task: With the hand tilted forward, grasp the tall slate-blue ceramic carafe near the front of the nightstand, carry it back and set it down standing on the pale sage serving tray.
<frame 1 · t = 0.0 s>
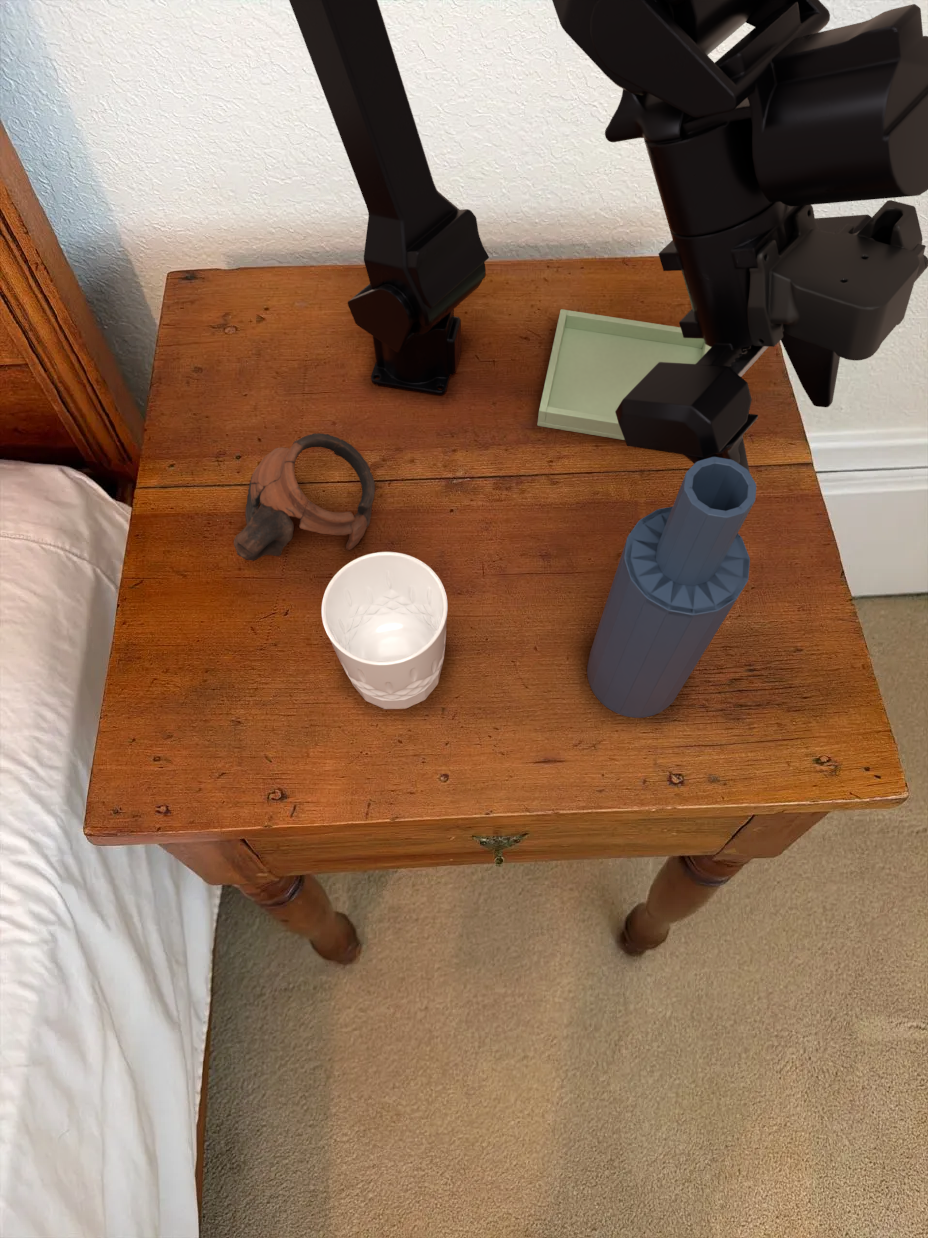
hand: (784, 451, 54), 15 cm above the nightstand, tool tilted 35°, fingers open, 9 cm apart
tray: (624, 386, 75), on the nightstand
white cup: (396, 667, 64), on the nightstand
carafe: (634, 673, 64), on the nightstand
brown grey sculpted ring: (302, 528, 69), on the nightstand
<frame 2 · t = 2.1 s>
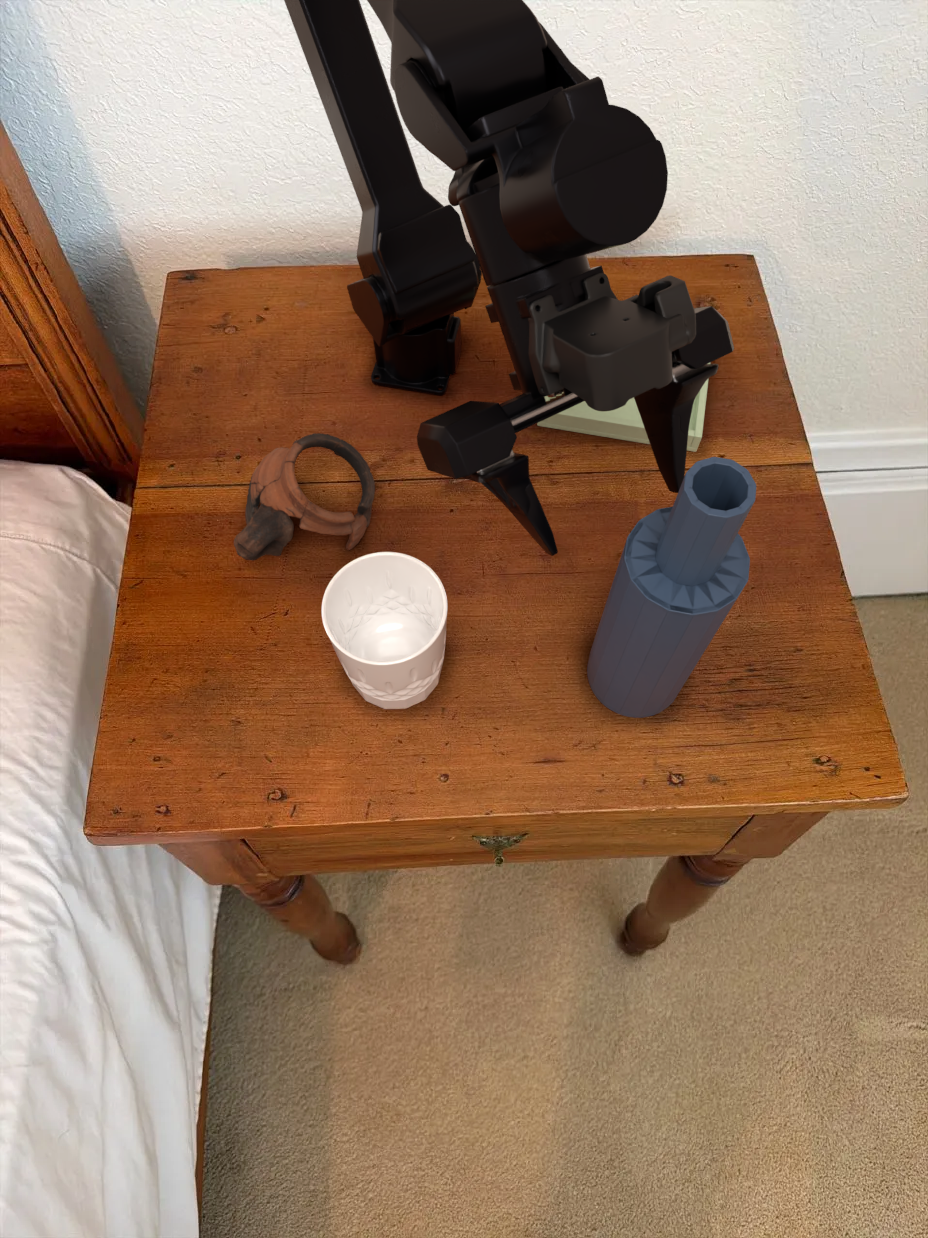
hand: (615, 521, 55), 13 cm above the nightstand, tool tilted 45°, fingers open, 9 cm apart
nothing on the nightstand moved.
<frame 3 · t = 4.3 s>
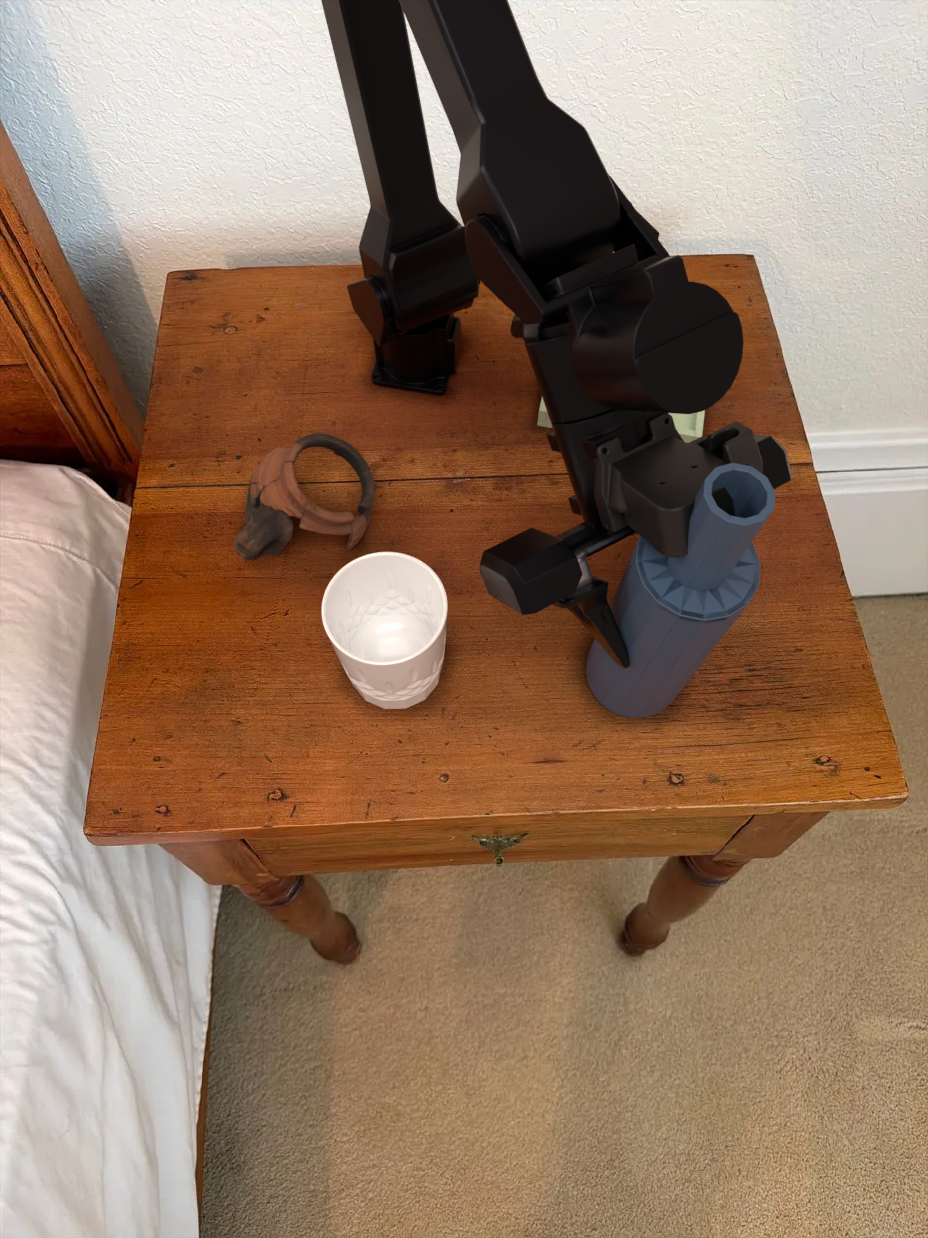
hand: (671, 640, 55), 9 cm above the nightstand, tool tilted 45°, fingers closed on carafe, 7 cm apart
carafe: (632, 673, 64), on the nightstand, touching gripper
everything else where it was.
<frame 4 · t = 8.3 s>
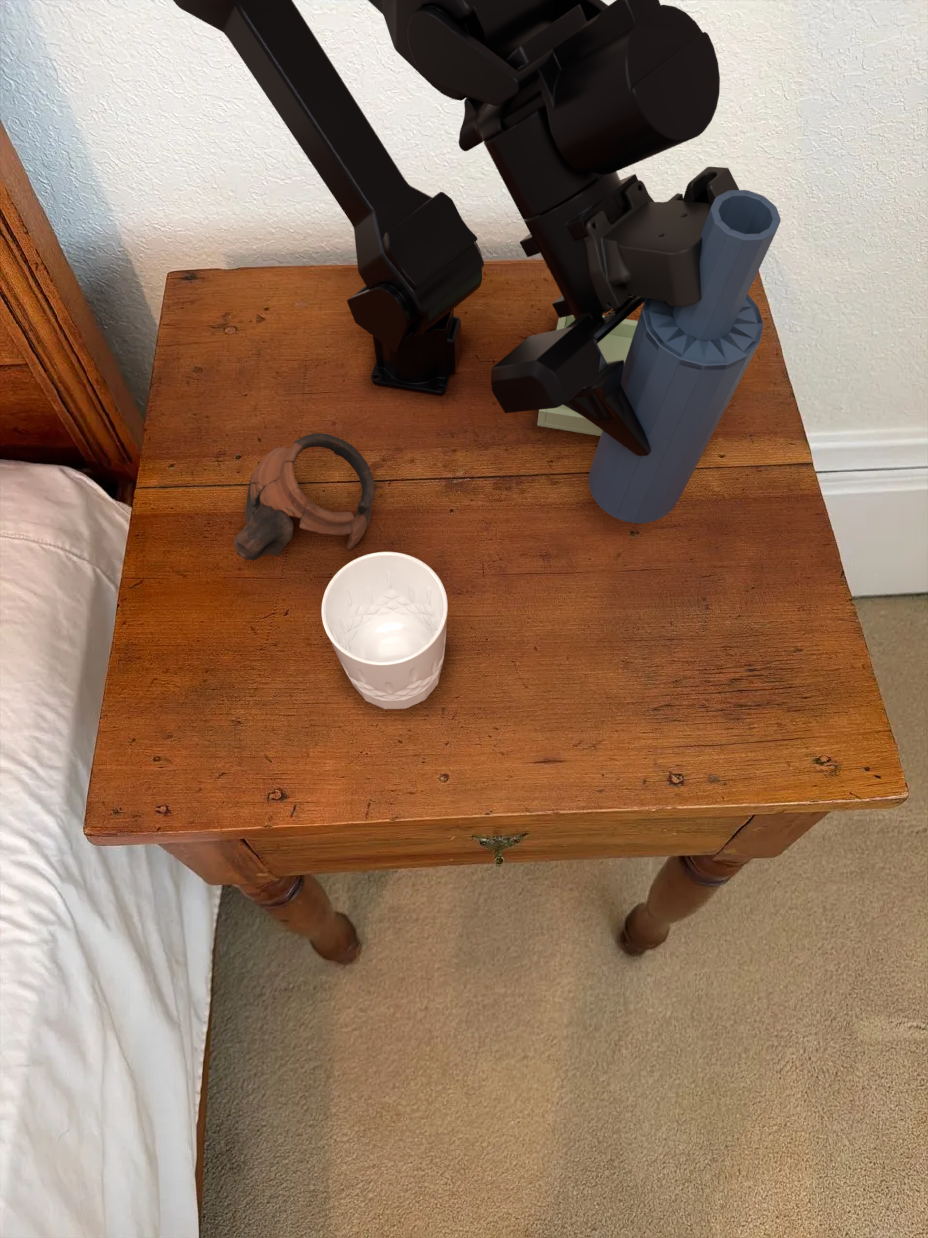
hand: (678, 420, 57), 13 cm above the nightstand, tool tilted 45°, fingers closed on carafe, 7 cm apart
carafe: (634, 483, 65), point 5 cm above the nightstand, touching gripper
everything else where it was.
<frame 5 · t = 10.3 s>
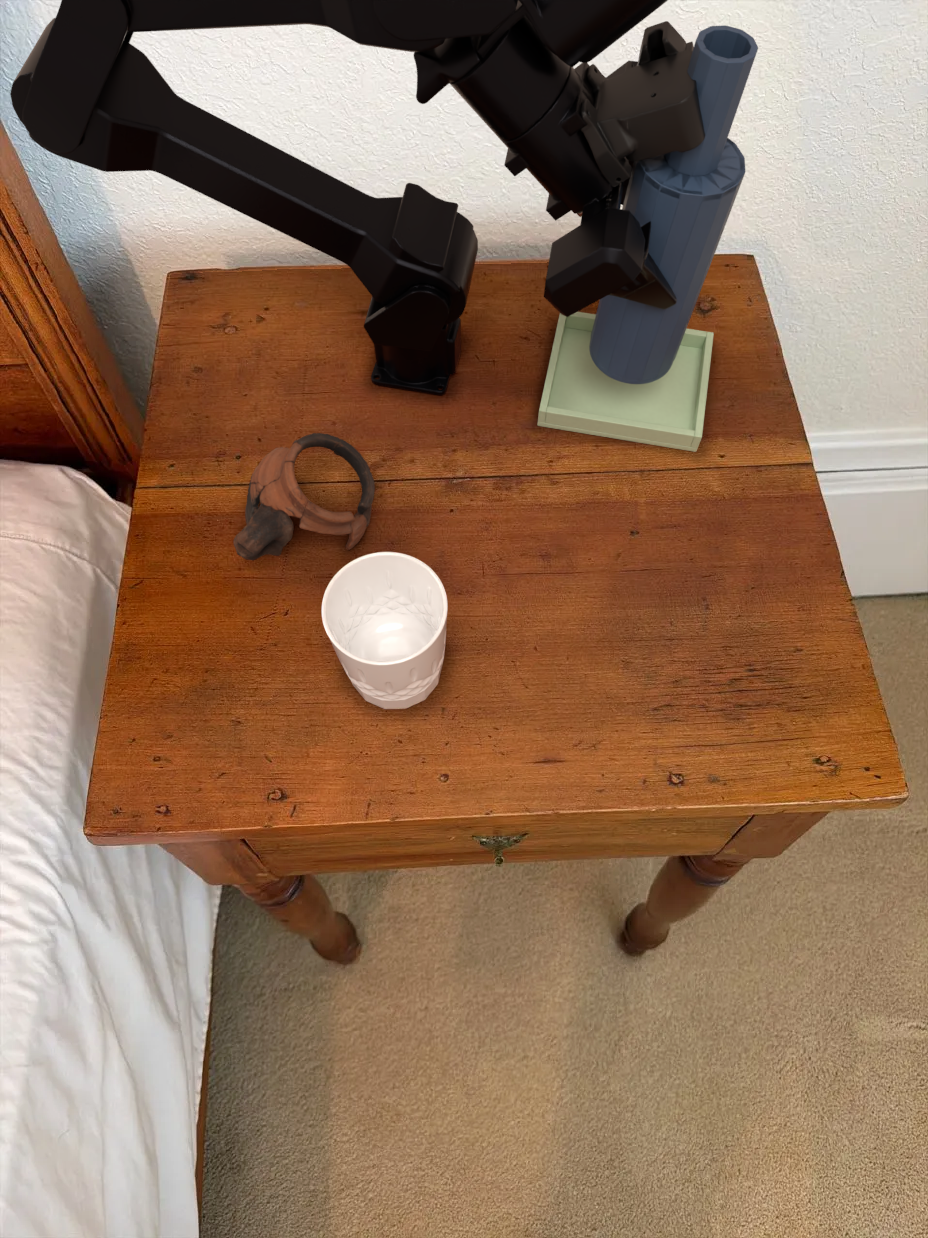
hand: (674, 267, 63), 13 cm above the nightstand, tool tilted 45°, fingers closed on carafe, 7 cm apart
carafe: (631, 351, 71), point 5 cm above the nightstand, touching gripper
everything else where it was.
when the fingers open (9 cm above the nightstand, at t = 12.3 s): carafe stays where it is, resting on tray.
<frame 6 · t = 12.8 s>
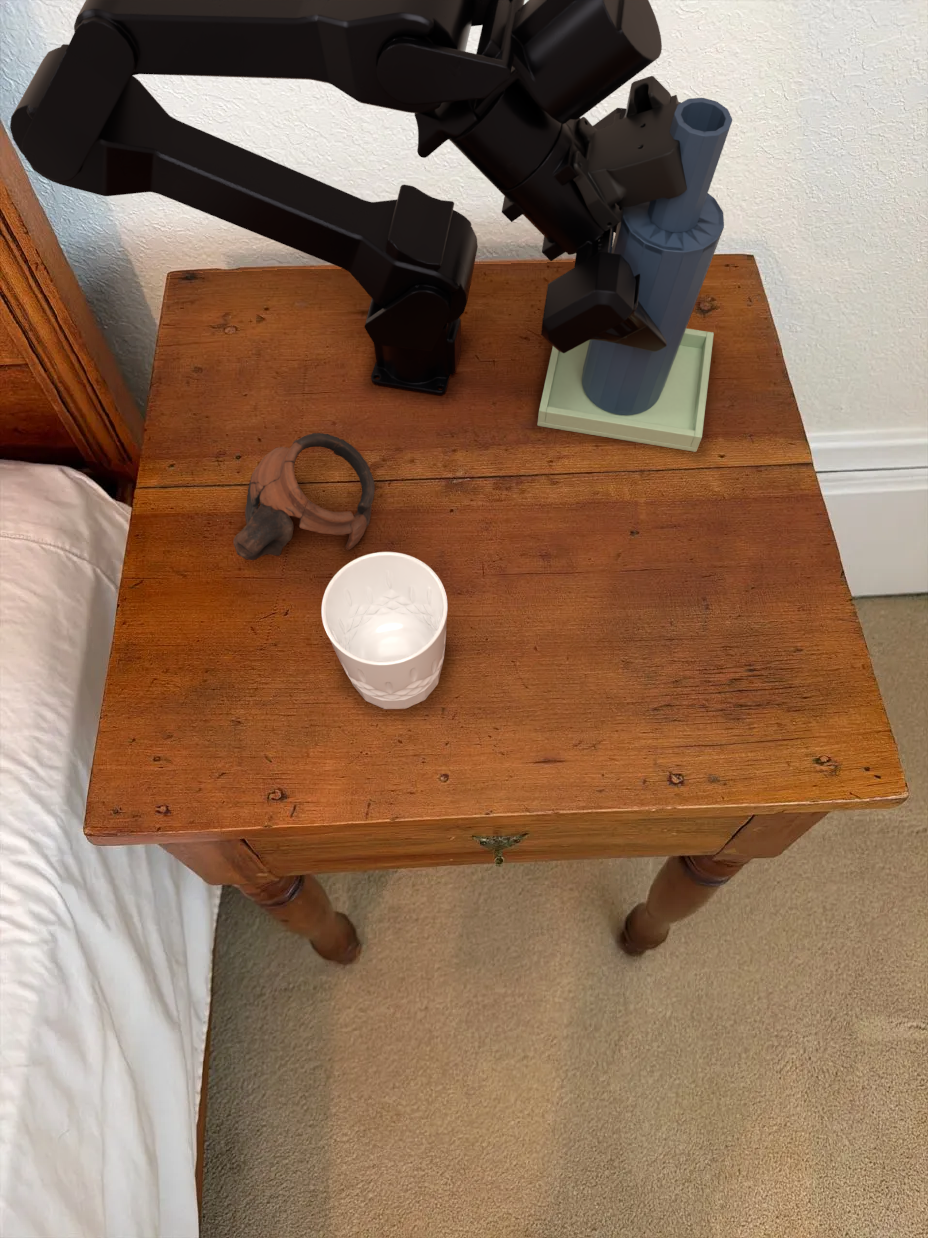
hand: (664, 300, 66), 10 cm above the nightstand, tool tilted 45°, fingers open, 9 cm apart
carafe: (621, 382, 74), point 1 cm above the nightstand, touching gripper, tray
everything else where it was.
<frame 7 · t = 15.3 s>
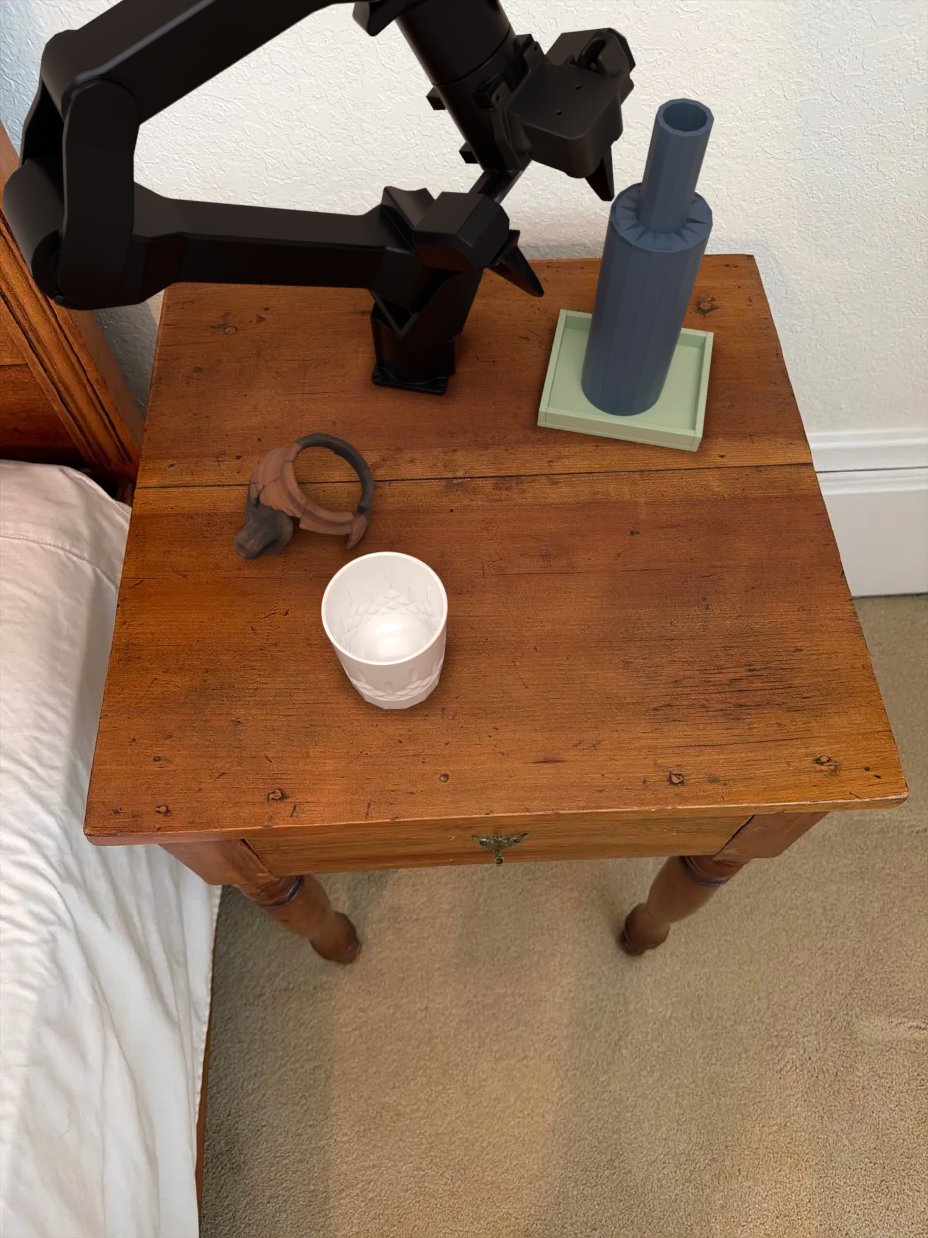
hand: (574, 247, 65), 12 cm above the nightstand, tool tilted 30°, fingers open, 9 cm apart
carafe: (621, 384, 75), resting on tray
everything else where it was.
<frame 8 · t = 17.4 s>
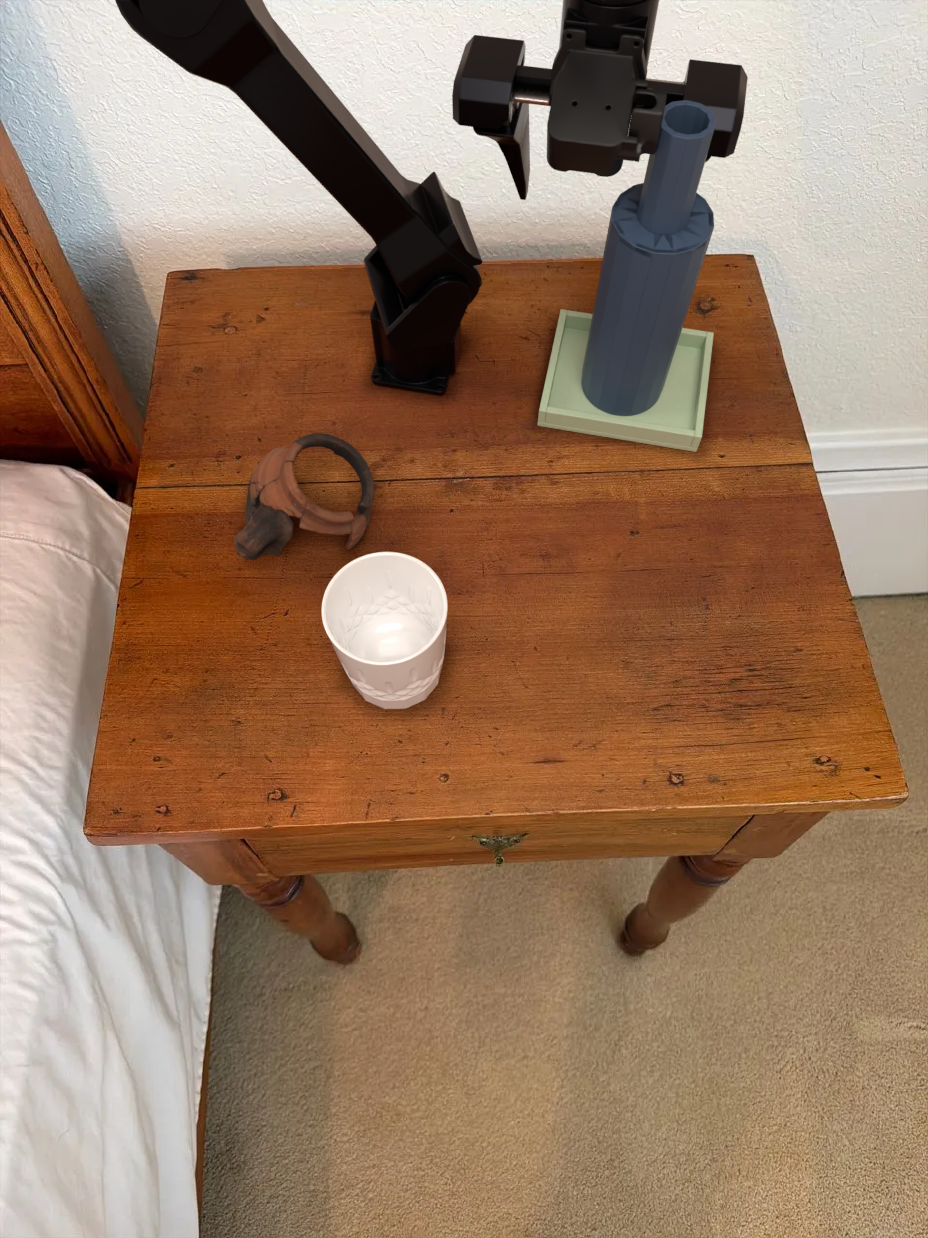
hand: (584, 203, 66), 13 cm above the nightstand, tool pointing down, fingers open, 9 cm apart
carafe: (621, 383, 75), point 1 cm above the nightstand, touching gripper, tray
everything else where it was.
at the end: carafe inside the target area in the tray (0.4 cm from its centre), point 0.5 cm above the tray's base; carafe tilted 1°; the gripper is holding nothing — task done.
